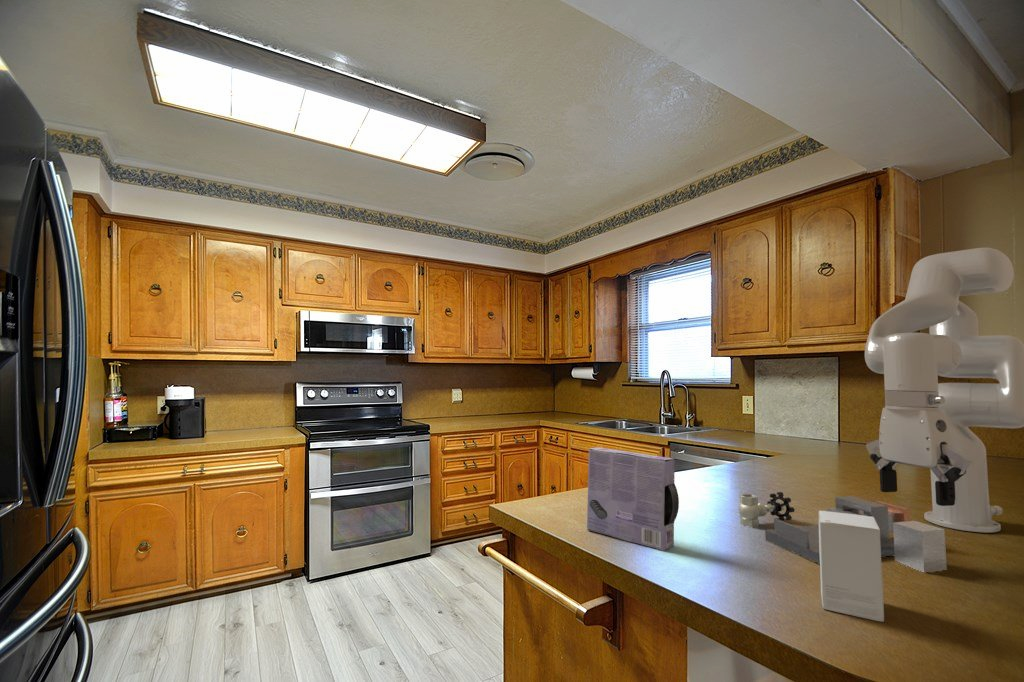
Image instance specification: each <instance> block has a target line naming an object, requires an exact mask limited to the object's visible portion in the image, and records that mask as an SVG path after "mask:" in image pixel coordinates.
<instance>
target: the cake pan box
mask: <svg viewBox="0 0 1024 682" xmlns="http://www.w3.org/2000/svg"><path fill="white" fill-rule="evenodd" d="M675 462H676V461H675V458H674V457H673V458H672V457H666V456H657V455H652V454H646V453H640V452H634V451H626V450H625V451H624V450H618V449H612V448H608V447H607V448H606V447H600V446H597V447H590V448H589V449H588V477H587V478H588V479H587V480H588V481H587V504H586V505H587V510H586V513H587V514H586V530H587V531H590V532H595V533H599V534H602V535H606V536H609V537H612V538H614V539H617V540H622V541H625V542H628V543H635V544H638V545H642V546H644V547H649V548H653V549H657V550H659V551H663V552H665V551H666V550H669V549H671V548H672V547H674V545H675V521H676V520H677V516H678V513H679V508H680V506H679V505H680V498H679V493H678V489H677V487H676V484H675V483H676V482H675V465H676V463H675ZM670 547H671V548H670Z"/></svg>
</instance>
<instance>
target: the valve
mask: <svg viewBox="0 0 1024 682" xmlns="http://www.w3.org/2000/svg"><path fill="white" fill-rule="evenodd" d="M769 498H771V499H770V500H768V501H767V502H766V504H764V503H763V502H759V497H758V496H757V495H756V494H750V493H741V494H739V503H740V504H739V506H738V513H739V515H740V516H739V517H740V518H739V519H740V520H739V521H740V525H741V526H742V525H744V526H743V527H745V526H749V527H748V528H751V527H754V528H758V527H757V526H760V525H759V524H760V523H759V522H760V521H759V518H760V517H765V516H766V515H767V514H768V513H770V516H776V517H777V518H776V519H779V520H781V521H784V522H785V520H786V521H792V519H793V517H792V515H791V514H790V513H794V512H795V508H794V507H793V506H790V503H791V502H792V499H791V498H790V497H789V496H788V497H784V492H783V491H777V492H776V493H773V492H772V493H769ZM778 500H780V501H782V502H783V503H782V502H778ZM784 510H785V512H784V513H781V512H782V511H784Z"/></svg>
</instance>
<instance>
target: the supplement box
mask: <svg viewBox="0 0 1024 682" xmlns="http://www.w3.org/2000/svg"><path fill="white" fill-rule="evenodd" d="M818 525H819V553H820V565H819V573H820V574H819V575H820V576H819V578H820V596H821V597H820V598H821V607H822V609H824V610H825V611H826V610H827V611H831V612H835V613H839V614H844V615H847V616H848V615H849V616H851V617H852V616H853V617H858V618H862V619H865V620H866V619H867V620H872V621H876V622H882V623H883V622H884V621H885V609H884V607H885V606H884V589H883V588H884V587H883V586H884V585H883V584H884V583H883V567H882V558H881V544H880V529H879V527H878V524H877V522H876V520H875V518H874V517H871V516H863V515H855V514H847V513H838V512H829V511H828V510H827V511H826V510H818Z"/></svg>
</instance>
